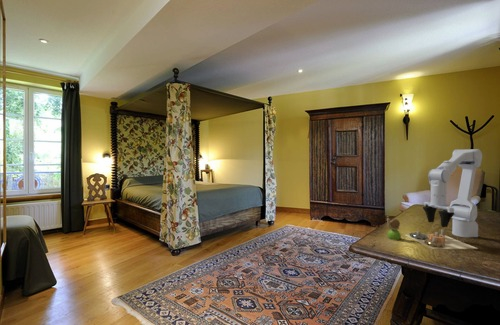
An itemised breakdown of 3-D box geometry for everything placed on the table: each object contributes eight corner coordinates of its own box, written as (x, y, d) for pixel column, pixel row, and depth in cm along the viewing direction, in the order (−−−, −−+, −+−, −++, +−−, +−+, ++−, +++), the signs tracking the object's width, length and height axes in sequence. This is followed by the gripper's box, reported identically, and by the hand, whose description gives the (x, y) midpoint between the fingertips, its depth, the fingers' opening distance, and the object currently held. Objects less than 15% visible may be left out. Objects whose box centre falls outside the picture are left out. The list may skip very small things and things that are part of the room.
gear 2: (435, 241, 109) (435, 238, 109) (448, 247, 102) (449, 244, 102) (420, 241, 108) (420, 238, 108) (432, 247, 101) (432, 244, 101)
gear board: (443, 236, 119) (443, 226, 119) (478, 251, 101) (478, 239, 101) (403, 236, 118) (404, 226, 118) (432, 251, 100) (432, 239, 100)
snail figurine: (382, 239, 115) (383, 214, 115) (395, 238, 116) (395, 214, 115) (390, 243, 110) (390, 217, 109) (403, 242, 110) (404, 217, 110)
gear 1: (420, 234, 118) (420, 232, 118) (431, 239, 111) (431, 237, 111) (406, 234, 118) (406, 232, 118) (416, 239, 111) (416, 237, 111)
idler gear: (437, 238, 113) (438, 233, 113) (448, 243, 107) (448, 237, 107) (425, 238, 113) (425, 233, 113) (435, 243, 107) (435, 237, 107)
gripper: (418, 192, 116) (417, 220, 117) (442, 197, 102) (441, 229, 102) (432, 192, 117) (431, 220, 117) (459, 197, 102) (458, 229, 103)
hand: (437, 224), depth 110 cm, fingers open, 7 cm apart
